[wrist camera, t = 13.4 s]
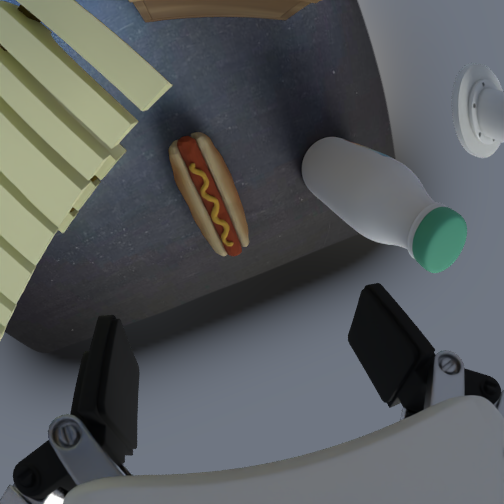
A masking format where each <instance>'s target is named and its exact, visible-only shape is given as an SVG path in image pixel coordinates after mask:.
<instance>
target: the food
mask: <svg viewBox="0 0 504 504" xmlns="http://www.w3.org/2000/svg"><path fill="white" fill-rule="evenodd" d="M169 159H170V162H171V165H172V169H173V174H174V179H175V182H176V184H177V186H178V188H179V190H180V192H181V194H182V195H183V197H184V199H185V201H186V203H187V204H188V206H189V208H190V211H191V214H192V216H193V218H194V220H195V222H196V224H197V225H198V227H199V228H200V230H201V232H202V234H203V236H204V237H205V238H206V240H207V241H208V242H209V244H210V245H211V247H212V248H213V250H214V251H215V252H216V253H217V254H219V255H221V256H225V255H227V254H228V255H230V256H237V255H238V254H240V253H241V252H242V248H241V246H243V247H247V246H248V244H249V239H248V226H247V223H246V219H245V214H244V210H243V207H242V204H241V201H240V198H239V195H238V192H237V190H236V187H235V185H234V182H233V179H232V176H231V173H230V172H229V170H228V168H227V166H226V164H225V162H224V159H223V157H222V156H221V154H220V153H219V151H218V150H217V149H216V148H215V146H214V145H213V143H212V141H211V139H210V138H209V137H208V136H207V135H205V134H203V133H200V132H195V133H193V134H191V137H190V136H184V137H182V138H180V139H179V140H175V141H174V142H173V143H172V144H171V146H170V147H169Z"/></svg>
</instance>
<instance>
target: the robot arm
mask: <svg viewBox="0 0 504 504" xmlns="http://www.w3.org/2000/svg"><path fill="white" fill-rule="evenodd" d="M468 115H469V122H470V126H471V129H472V132H473V134H474V136H475V137H476V139H477V140H478V141H479V142H481V143H483V144H486V145H491V144H493V143H494V142H496V140H497V141H500V142H503V143H504V91H501V90H498V89H497V87H496V86H495V85H494V84H493V83H492V82H491V81H489V80H486V79H480V80H478V81H476V82H475V83H474V85H473V87H472V89H471V91H470V95H469V101H468ZM348 341H349V344H350V345H351V347H352V349H353V350H354V352H355V354H356V355H357V357H358V359H359V361H360V362H361V364H362V366H363V367H364V369H365V371H366V373H367V374H368V376H369V378H370V379H371V381H372V383H373V385H374V386H375V388H376V390H377V392H378V393H379V395H380V397H381V399H382V400H383V401H384V402H387V404H388V406H389V407H392V406H395V405H397V404H399V403H400V402H401V404H402V405H403V409H402V414H401V419H400V421H399V422H397V423H394V424H392V425H389V426H387V427H385V428H383V429H380V430H378V431H375V432H373V433H370V434H367V435H365V436H362V437H359V438H357V439H354V440H351V441H348V442H345V443H342V444H339V445H337V446H333V447H330V448H327V449H323V450H320V451H317V452H313V453H309V454H306V455H302V456H298V457H294V458H290V459H286V460H281V461H276V462H272V463H266V464H261V465H256V466H250V467H244V468H237V469H230V470H222V471H213V472H202V473H189V474H172V475H138V476H137V475H135V476H134V475H133V474H132V473H131V472H130V471H129V470H128V469H127V468H126V466H125V465H124V464H123V463H124V462H125V455H133V449H136V448H137V411H138V388H139V366H138V363H137V361H136V359H135V356H134V354H133V351H132V349H131V346H130V344H129V341H128V339H127V336H126V334H125V331H124V328H123V325H122V323H121V320H120V319H116V317H115V316H114V315H106V316H99V317H98V320H97V324H96V328H95V331H94V335H93V339H92V343H91V347H90V351H85V353H84V354H83V357H82V361H81V365H80V369H79V374H78V378H77V383H76V387H75V392H74V398H73V402H72V408H71V414H70V415H69V414H66V415H61V416H59V417H57V418H55V419H54V420H53V421H52V423H51V424H50V426H49V430H48V438H49V440H48V441H47V442H45V443H44V444H43V445H41V446H40V447H39V448H37V449H36V450H35V451H34V452H32V453H31V454H30V455H28V456H27V457H26V458H24V459H23V460H22V461H20V462H19V463H18V464H17V465H16V466H15V469H14V472H13V480H14V484H13V486H11V485H9V486H8V488H7V489H6V491H5V493H4V494H3V496H2V498H1V499H0V504H504V390H503V391H502V392H501V388H500V386H499V384H498V382H497V381H496V380H495V379H494V378H492V377H490V376H487V375H484V374H480V373H477V372H474V371H471V370H468V369H464V364H463V362H462V360H461V359H460V357H459V356H458V355H457V354H455V353H454V352H451V351H446V350H445V351H440V352H439V353H437V354H436V355H435V354H434V351H435V349H434V348H433V347H432V345H431V344H430V342H429V341H428V340H427V339H426V337H425V336H424V335H423V334H422V332H421V331H420V330H419V329H418V327H417V326H416V325H415V324H414V323H413V322H412V320H411V319H410V318H409V317H408V315H407V314H406V313H405V312H404V311H403V310H402V308H401V307H400V306H399V305H398V303H397V302H396V301H395V300H394V299H393V298H392V297H391V295H390V294H389V293H388V292H387V291H386V290H385V289H384V287H383V286H382V285H381V284H379V283H376V284H371V285H366V286H365V288H364V289H363V290H362V291H361V294H360V298H359V301H358V305H357V308H356V312H355V315H354V318H353V322H352V325H351V328H350V331H349V334H348Z"/></svg>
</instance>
